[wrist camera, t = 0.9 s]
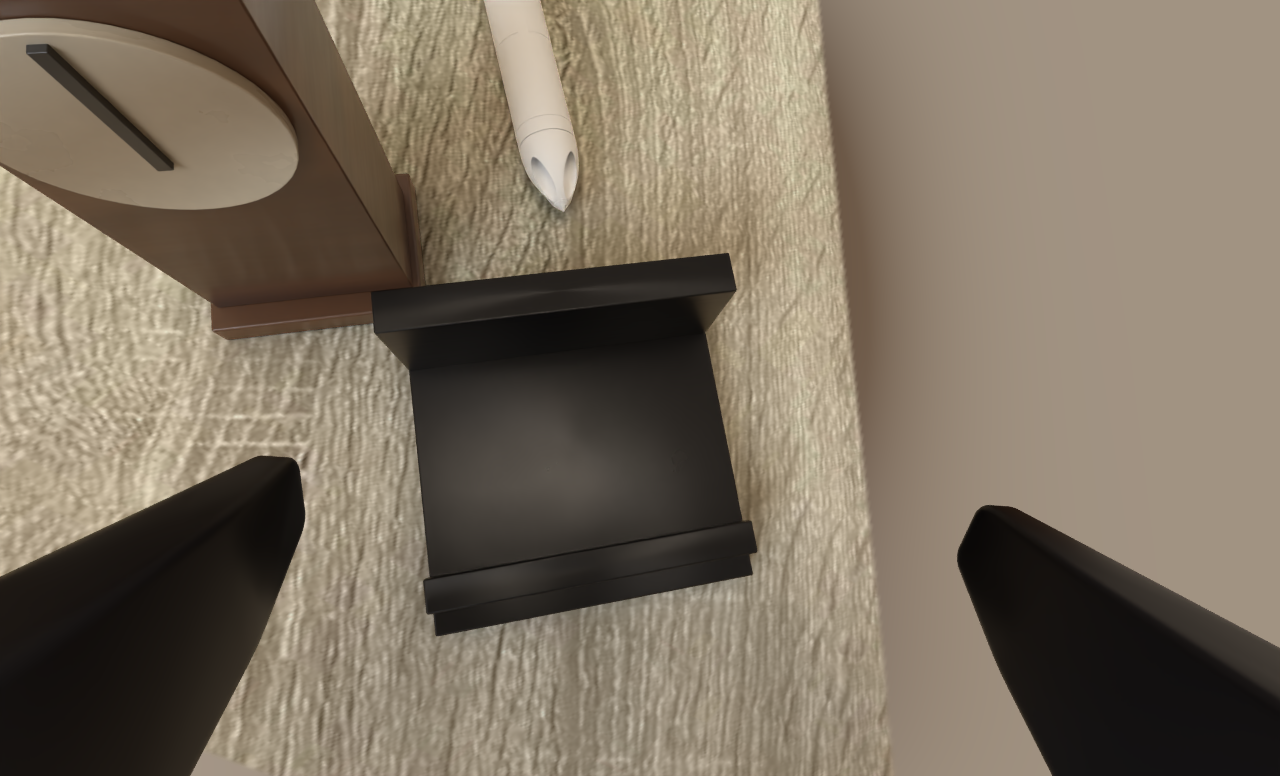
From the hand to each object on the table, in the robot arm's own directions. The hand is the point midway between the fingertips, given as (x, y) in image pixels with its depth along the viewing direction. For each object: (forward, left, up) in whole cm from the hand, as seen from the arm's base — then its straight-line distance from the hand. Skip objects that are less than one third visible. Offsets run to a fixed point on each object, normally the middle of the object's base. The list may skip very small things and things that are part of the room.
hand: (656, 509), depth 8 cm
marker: (+17, +10, -13) cm, 24 cm away
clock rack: (+2, +2, -13) cm, 13 cm away
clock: (+5, +12, -13) cm, 18 cm away
